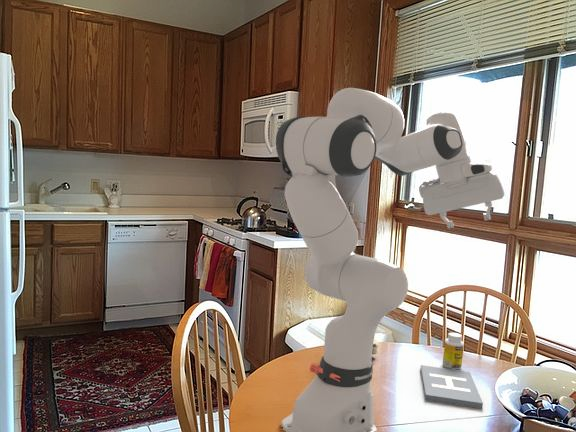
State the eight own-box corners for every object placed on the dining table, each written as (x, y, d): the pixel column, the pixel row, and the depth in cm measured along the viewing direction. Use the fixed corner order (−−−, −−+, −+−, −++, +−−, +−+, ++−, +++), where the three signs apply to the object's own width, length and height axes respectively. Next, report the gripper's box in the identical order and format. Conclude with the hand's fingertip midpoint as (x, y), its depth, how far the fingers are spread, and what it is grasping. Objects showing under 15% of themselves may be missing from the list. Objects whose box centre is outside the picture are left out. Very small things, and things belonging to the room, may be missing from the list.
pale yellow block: (360, 365, 147) (362, 347, 146) (344, 354, 155) (345, 337, 154) (386, 360, 151) (388, 343, 151) (369, 350, 159) (370, 334, 159)
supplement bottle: (453, 371, 145) (456, 338, 144) (438, 364, 150) (441, 332, 149) (465, 368, 149) (468, 336, 148) (450, 361, 153) (453, 330, 152)
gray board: (482, 409, 123) (482, 403, 123) (425, 400, 126) (425, 394, 126) (469, 376, 142) (469, 371, 142) (420, 370, 145) (420, 364, 145)
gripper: (414, 184, 130) (427, 234, 130) (494, 162, 120) (509, 216, 120) (419, 183, 136) (432, 230, 135) (496, 162, 126) (510, 213, 126)
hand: (469, 224), depth 128 cm, fingers open, 8 cm apart
